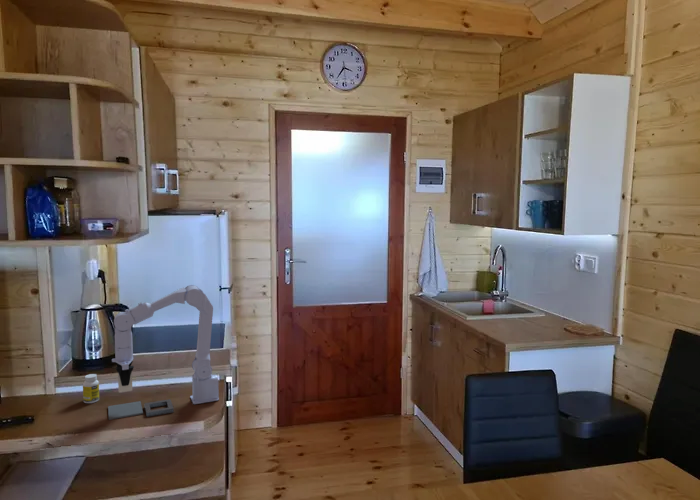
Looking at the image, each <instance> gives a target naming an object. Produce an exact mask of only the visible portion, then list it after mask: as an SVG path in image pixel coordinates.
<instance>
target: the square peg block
mask: <svg viewBox="0 0 700 500" xmlns="http://www.w3.org/2000/svg"><path fill="white" fill-rule="evenodd" d="M117 380H118V383H117V384H118V393H120V394H121V393H127V392H133V371H132V372H131V375H130V381H129V385H127V386H122V384H121V380H120V376H119V373H118V372H117Z"/></svg>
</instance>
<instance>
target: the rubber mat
mask: <svg viewBox="0 0 700 500" xmlns="http://www.w3.org/2000/svg"><path fill="white" fill-rule="evenodd" d="M107 409H108V413H107V414H108V421H111V420H117V419H124V418H130V417H134V416H140V415H144V411H143V407H142V402H141V400H139V401H133V402H126V403H120V404H114V405H107Z"/></svg>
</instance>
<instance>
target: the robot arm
mask: <svg viewBox="0 0 700 500" xmlns="http://www.w3.org/2000/svg"><path fill="white" fill-rule="evenodd" d="M177 303H178V304H182V305H185V303H187V304H188V305H190V306H192V307H194V308H195V309H197V310H198V311H199V314H198V315H199V316H198V327H197V328H198V330H197V339H196V340H197V342H196V352H195V354H194V358H193V360H192V363H191V367H192V370H193V372H194V373H193V374H192V377H191V378H192V379H191V380H192V381H191V382H192V387H191V388H192V389H191V390H192V395H190V396H189V398H190V400H191V402H192V405H198V404H204V403H211V402H217V401H219V400H220V397H219V395H220V393H219V392H220V391H219V379H218V375H217V374H213V367H212V366H211V360H212V359H211V353H210V352H211V340H212V327H213V315H214V306H213V304H212V303H211V301H210V300H209V298H208V297H207V295H206V293H204V291H203V290H202V289H200V287H198V286H197V285H194V284H189V285H187V286H184V287H181V288H179V289H177V290H175V291H173V292H171V293H168V294H167V295H165V296H163V297H161V298H158V299H157V300H155V301H153V302H146V301H145V302H142V301H141V302H139V303H138V305H136V306H134V307H132V308H129V309H128V308H127V309H125V310H124V311H120V312H118V313H117V314H116V315H115V316H114V319H113V324H114V327H115V328H114V354H115V358H112V359H111V363H115V365H116V367H115V369H116V371H117V374H118V373H119V376H120V380H121V384H122V386H127V385H129V381H130V375H131V372H132V373H133V370H134V367H135V366H134V365H132V364H133V362H134V351H133V350H134V349H133V347H134V346H133V344H134V343H133V332H132V326H133V325H137V324H139V323H141V322H143V321H146V320H148V319H150V318H152V317H153V316H154V314H155V312H157V311H159V310H162V309H164V308H166V307H169V306H172V305H173V304H177Z"/></svg>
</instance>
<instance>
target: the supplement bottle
mask: <svg viewBox="0 0 700 500" xmlns="http://www.w3.org/2000/svg"><path fill="white" fill-rule="evenodd" d="M97 376H98V375H97V373H89V374H86V375H85V376H84V382H83V383H82V401H83V402H82V403H85V404H93V403H96V402H98V401H100V381H99V380H98V377H97Z"/></svg>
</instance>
